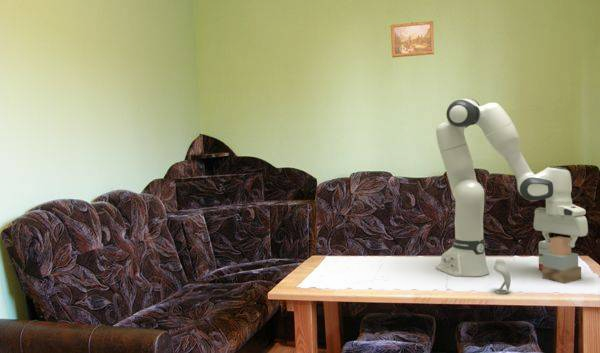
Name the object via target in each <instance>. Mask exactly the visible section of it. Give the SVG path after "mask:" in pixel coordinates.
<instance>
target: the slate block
mask: <svg viewBox="0 0 600 353" xmlns="http://www.w3.org/2000/svg"><path fill="white" fill-rule="evenodd" d="M543 266H544V267H548V268H553V269H557V270H562V271H563V270H567V269H572V268H576V267H578V266H579V254H578V253H574V252H571V254H569V255H564V256H561V255H555V254H551V252H549V253H544V254H543Z"/></svg>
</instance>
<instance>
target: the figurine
mask: <svg viewBox="0 0 600 353" xmlns="http://www.w3.org/2000/svg"><path fill="white" fill-rule="evenodd" d="M493 269H494V272H497V273H499V274H501V275H502V276H503V280H504V281H503V283H502V284H501V286H500V287H499V289H496V294H508V291H509V290H510V287H511V280H512V279H511V278H512V277H511V272H510V268H509V267H508V265H507V263H506V260H504V259H502V258H497V259H496V261H495V264H494V266H493ZM504 287H505V289H504Z"/></svg>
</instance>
